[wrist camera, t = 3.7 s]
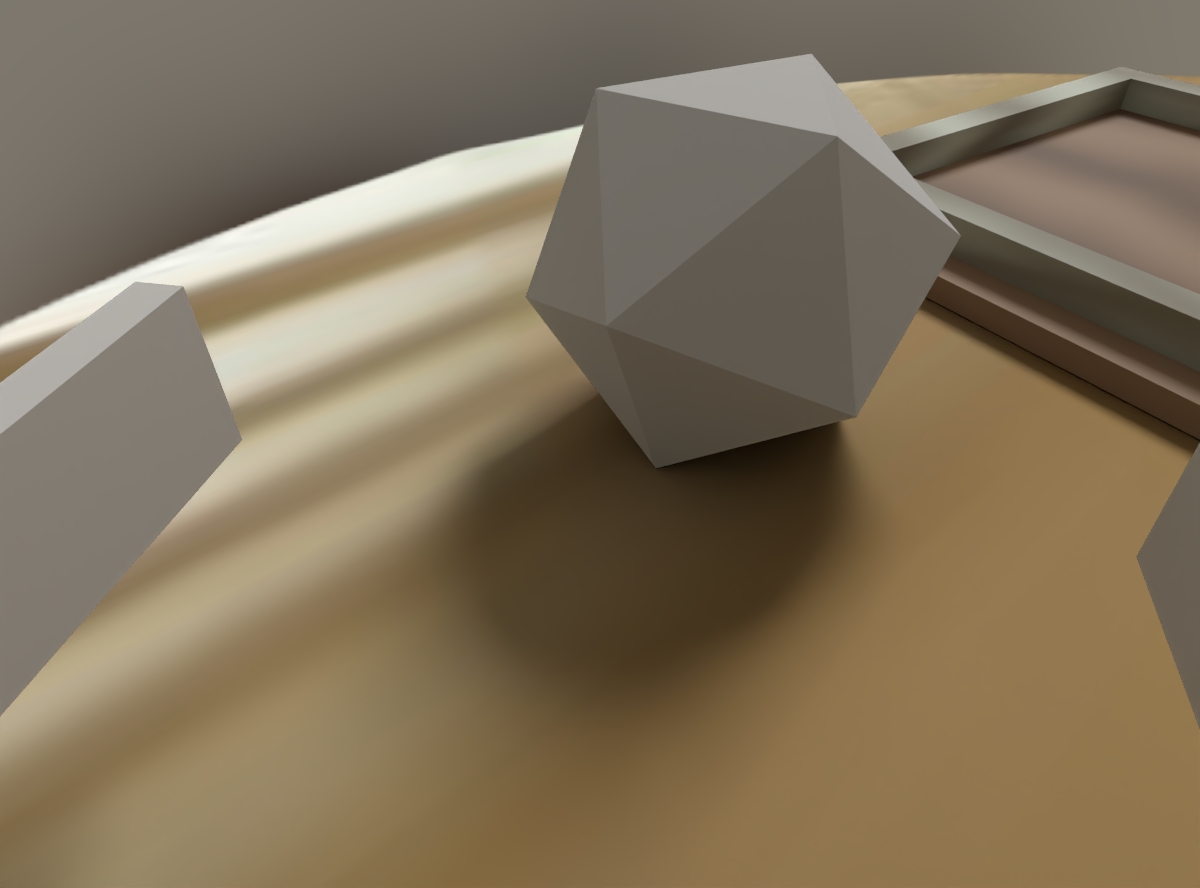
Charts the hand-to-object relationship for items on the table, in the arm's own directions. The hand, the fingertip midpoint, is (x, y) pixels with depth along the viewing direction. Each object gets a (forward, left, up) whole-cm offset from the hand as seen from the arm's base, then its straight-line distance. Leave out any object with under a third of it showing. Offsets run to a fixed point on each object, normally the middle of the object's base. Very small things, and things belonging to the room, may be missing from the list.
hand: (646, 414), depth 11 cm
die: (+8, 0, -6) cm, 10 cm away
